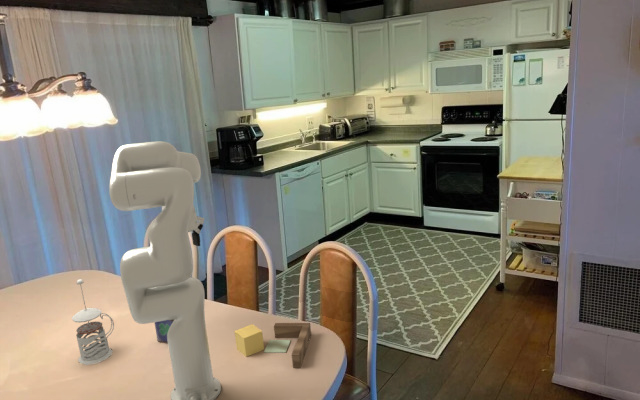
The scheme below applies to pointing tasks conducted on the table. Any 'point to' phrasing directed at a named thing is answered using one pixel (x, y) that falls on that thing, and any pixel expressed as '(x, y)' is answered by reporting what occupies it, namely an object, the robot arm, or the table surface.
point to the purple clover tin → (163, 330)
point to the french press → (95, 350)
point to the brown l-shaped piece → (290, 331)
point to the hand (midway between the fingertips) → (183, 249)
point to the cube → (249, 340)
